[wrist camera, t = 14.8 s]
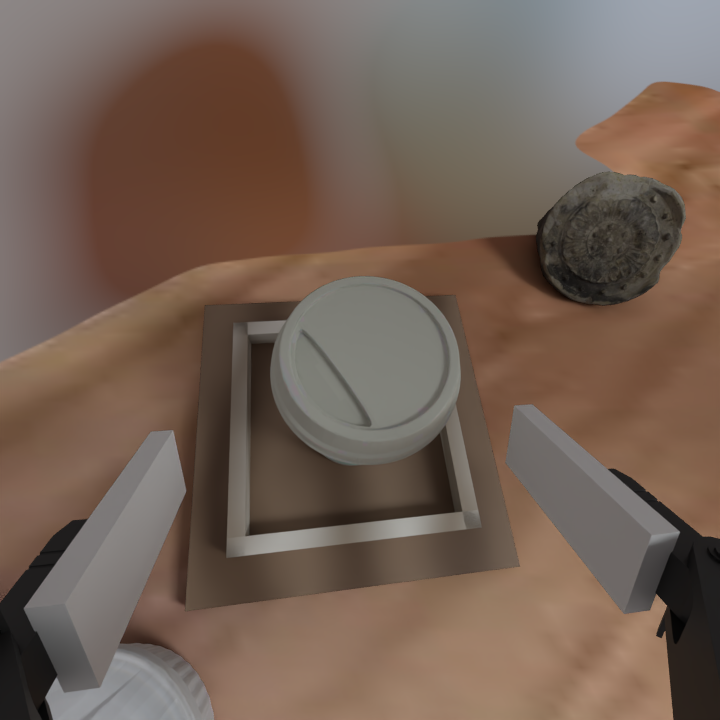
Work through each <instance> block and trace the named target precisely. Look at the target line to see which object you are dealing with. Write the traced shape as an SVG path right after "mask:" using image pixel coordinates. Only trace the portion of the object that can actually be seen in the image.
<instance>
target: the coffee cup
mask: <svg viewBox="0 0 720 720" xmlns="http://www.w3.org/2000/svg"><path fill="white" fill-rule="evenodd" d="M270 380H271V388H272V393H273V397H274V400H275V403H276V405H277V408H278V410H279V412H280V414H281V416H282V417H283V419H284V421H285V422H286V424H287V425H288V426H289V427H290V429H291V430H292V431H293V432H294V433H295V434H296V435H297V436H298V437H299V438H300V439H301V440H302V441H303V442H304V443H306V444H307V445H308V446H310V447H311V448H313V449H314V450H316V451H317V452H319V453H321V454H323V455H324V456H325V457H326V458H328V459H329V460H331V461H333V462H335V463H338V464H341V465H346V466H357V465H379V464H386V463H391V462H394V461H398V460H401V459H404V458H406V457H408V456H410V455H412V454H414V453H416V452H418V451H419V450H421V449H422V448H424V447H425V446H426V445H428V444H429V443H430V442H431V441H432V440H433V439H434V438H435V437H436V436H437V435H438V434H439V433H440V432H441V430H442V429H443V428H444V426H445V425H446V423H447V422H448V420H449V418H450V416H451V414H452V411H453V409H454V406H455V404H456V401H457V398H458V394H459V389H460V381H461V370H460V359H459V350H458V345H457V341H456V338H455V336H454V333H453V330H452V328H451V327H450V325H449V323H448V321H447V320H446V318H445V317H444V315H443V314H442V313H441V311H440V310H439V309H438V308H437V307H436V306H435V305H434V304H433V303H432V302H431V301H430V300H429V299H427V298H426V297H425V296H424V295H422V294H421V293H419V292H418V291H416V290H415V289H413V288H411V287H409V286H407V285H405V284H402V283H400V282H397V281H394V280H390V279H386V278H381V277H372V276H357V277H349V278H343V279H340V280H336V281H333V282H331V283H328V284H326V285H323V286H321V287H320V288H318V289H316V290H315V291H313V292H312V293H310V294H309V295H308V296H306V297H305V298H304V299H303V300H302V301H301V302H300V303H299V304H298V305H297V307H296V308H295V309H294V310H293V312H292V313H291V315H290V316H289V318H288V319H287V320H286V322H285V323H284V325H283V326H282V328H281V330H280V332H279V334H278V336H277V339H276V341H275V345H274V348H273V353H272V359H271V367H270Z"/></svg>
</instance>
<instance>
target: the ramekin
mask: <svg viewBox="0 0 720 720" xmlns="http://www.w3.org/2000/svg"><path fill="white" fill-rule="evenodd" d="M45 698H46V700H47V702H48V704H49V707H50V711H51V714H52V718H53V720H214V713H213V709H212V706H211V701H210V697H209V695H208V693H207V691H206V688H205V685H204V683H203V682H202V680H201V679H200V677H199V675H198V673H197V672H196V671H195V670H194V669H193V668H192V666H191V665H190V664H189V663H188V662H187V661H185V660H184V659H183V658H182V657H181V656H180V655H178V654H176V653H174V652H173V651H172V650H169V649H165V648H164V647H162V646H156V645H152V644H141V643H132V644H119V646H118V648H117V650H116V653H115V655H114V657H113V659H112V662H111V664H110V666H109V669H108V671H107V673H106V675H105V678H104V680H103V682H102V685H101V687H100V688H95V689H88V690H81V691H74V692H66V693H64V692H63V690H62V688H61V686H60V683H59V681H58V679H57V677H56V679H55V680H54V682H53V684H52V686H51V688H50V690H49V691H48V693H47V695H46V697H45Z"/></svg>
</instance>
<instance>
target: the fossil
mask: <svg viewBox="0 0 720 720" xmlns="http://www.w3.org/2000/svg"><path fill="white" fill-rule="evenodd" d="M685 219H686V215H685V205H684V202H683V200H682V198H681V196H680V195H679V194H678V193H677V192H676V191H675V190H674V189H673V188H671V187H669V186H667V185H664V184H662V183H661V182H659V181H657V180H655V179H653V178H647V177H638V176H636V175H623V174H620V173H616V172H602V173H599V174H596V175H594V176H592V177H589V178H587V179H585V180H584V181H582V182H580V183H579V184H577V185H576V186H574V187H573V188H572V189H571V190H570V191H568V192H567V193H566V194H565V195H564V196H563V197H561V199H560V200H559V201H558V202H557V203H556V204H555V205H554V207H552V208H551V209H550V210H549V211H548V212H547V213H546V215H545V216H544V217H543V218H542V219H541V220H540V221H539V222H538V225H537V226H538V232H537V235H536V242H537V248H538V253H539V256H540V263H541V270H542V273H543V276H544V277H545V278H546V280H547V281H548V282H549V283H550V284H551V285H552V286H553V287H554V288H555V289H556V290H558V291H559V292H560V293H562V294H563V295H565V296H566V297H568V298H569V299H572V300H574V301H577V302H582V303H586V304H595V305H613V304H618V303H622V302H625V301H629V300H631V299H633V298H636V297H638V296H640V295H642V294H644V293H645V292H647V291H648V290H649V289H651V288H652V287H653V286H654V285H656V284H657V283H658V280H659V274H660V271H661V270H662V268H663V267H664V266H665V265H666V264H667V263H668V262H669V261H670V259H671V258H672V256H673V255H674V253H675V252H676V250H677V249H678V248H679V246H680V244H681V240H682V234H681V228H682V226H683V223H684V221H685Z"/></svg>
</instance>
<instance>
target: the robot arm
mask: <svg viewBox="0 0 720 720" xmlns="http://www.w3.org/2000/svg"><path fill="white" fill-rule="evenodd" d="M505 463H506V464H507V465H508V466H509V468H510V469H511V470H512V472H513V473H514V474H515V475H516V477H517V478H518V479H519V481H520V482H521V483H522V484H523V486H524V487H525V488H526V489H527V491H528V492H529V493H530V495H531V496H532V497H533V498H534V500H535V501H536V502H537V504H538V505H539V506H540V507H541V509H542V510H543V511H544V512H545V514H546V515H547V516H548V518H549V519H550V520H551V521H552V523H553V524H554V525H555V527H556V528H557V529H558V530H559V532H560V533H561V534H562V535H563V537H564V538H565V539H566V541H567V542H568V543H569V544H570V546H571V547H572V548H573V550H574V551H575V552H576V553H577V555H578V556H579V557H580V558H581V560H582V561H583V562H584V564H585V565H586V566H587V567H588V569H589V570H590V571H591V572H592V574H593V575H594V576H595V578H596V579H597V580H598V581H599V583H600V584H601V585H602V587H603V588H604V589H605V590H606V592H607V593H608V594H609V595H610V597H611V598H612V599H613V601H614V602H615V603H616V604H617V606H618V607H619V608H620V610H621V611H622V612H623V613H624V614H626V613H634V612H641V611H648V610H650V608H651V606H652V603H653V601H654V598H655V596H656V594H657V595H658V596H659V597H660V598H661V599H662V600H663V601H664V603H665V604H666V605H667V608H666V611H665V613H664V615H663V618H662V620H661V623H660V625H659V628H658V631H657V635H656V636H658V637H660V638H662V636H663V633H664V632H665V631H666V642H667V653H668V664H669V675H670V686H671V697H672V708H673V719H674V720H720V539H718V538H713V537H702V536H701V535H700V534H699V533H698V532H696V531H695V530H694V529H693V528H691V527H690V526H689V525H688V524H687V523H685V522H684V521H683V520H682V519H681V518H679V517H678V516H677V515H676V514H675V513H673V512H672V511H671V510H670V509H668V508H667V507H666V506H665V505H664V504H662V503H661V502H660V501H659V502H658V501H657V499H656V498H655V497H654V496H653V495H651V494H650V493H649V492H646V491H645V489H644V488H643V487H642V486H641V485H639V484H638V483H637V482H636V481H635V480H633V479H632V478H631V477H629V476H627V475H625V474H623V473H621V472H619V471H617V470H616V469H607V468H605V467H604V466H603V465H602V464H601V463H600V462H598V461H597V460H596V459H595V458H594V457H593V456H592V455H590V454H589V453H588V452H587V451H586V450H585V449H583V448H582V447H581V446H580V445H579V444H578V443H576V442H575V441H574V440H573V439H572V438H571V437H570V436H568V435H567V434H566V433H565V432H564V431H563V430H561V429H560V428H559V427H558V426H557V425H556V424H554V423H553V422H552V421H551V420H550V419H549V418H547V417H546V416H545V415H544V414H543V413H542V412H541V411H539V410H538V409H537V408H536V407H535V406H534V405H532V404H530V405H516V406H514V411H513V417H512V424H511V430H510V437H509V443H508V450H507V456H506V462H505ZM185 493H186V487H185V482H184V477H183V473H182V468H181V464H180V459H179V455H178V450H177V446H176V441H175V436H174V432H173V430H167V431H153V432H150V434H149V435H148V436H147V438H146V439H145V441H144V442H143V443H142V445H141V446H140V448H139V449H138V450H137V452H136V453H135V455H134V456H133V457H132V459H131V460H130V461H129V463H128V464H127V466H126V467H125V468H124V470H123V471H122V473H121V474H120V475H119V477H118V478H117V480H116V481H115V482H114V484H113V485H112V487H111V488H110V489H109V491H108V492H107V493H106V495H105V496H104V498H103V499H102V500H101V502H100V503H99V505H98V506H97V507H96V509H95V510H94V512H93V513H92V514H91V516H90V517H89V518H88V519H84V520H73V521H71V522H70V523H69V524H68V525H66V526H65V527H64V528H62V529H61V530H60V531H59V532H57V533H56V534H55V535H54V536H53V537H52V538H51V539H50V541H49V542H48V543H47V544H46V546H45V547H44V548H43V549H42V551H41V552H40V556H37V557H36V558H35V560H34V561H33V562H32V563H31V565H30V566H29V569H28V570H26V571H25V572H24V573H23V575H22V576H21V577H20V579H19V580H18V581H17V582H16V584H15V585H14V586H13V587H12V589H11V590H10V591H9V592H8V594H7V595H6V596H5V598H4V599H3V600H2V601H1V603H0V720H53V718H52V714H51V711H50V707H49V704H48V702H47V700H46V698H45V697H46V695H47V693H48V691H49V690H50V688H51V686H52V684H53V682H54V680H55V679H56V677H57V679H58V681H59V683H60V686H61V688H62V690H63V692H64V693H66V692H74V691H81V690H88V689H95V688H100V687H101V685H102V682H103V680H104V678H105V675H106V673H107V671H108V669H109V666H110V664H111V662H112V659H113V657H114V655H115V653H116V650H117V648H118V646H119V644H120V641H121V639H122V637H123V634H124V632H125V630H126V628H127V625H128V623H129V621H130V618H131V616H132V614H133V612H134V609H135V607H136V605H137V603H138V600H139V598H140V596H141V593H142V591H143V589H144V587H145V584H146V582H147V580H148V578H149V575H150V573H151V571H152V568H153V566H154V564H155V562H156V559H157V557H158V555H159V552H160V550H161V548H162V546H163V543H164V541H165V539H166V537H167V534H168V532H169V530H170V527H171V525H172V523H173V521H174V518H175V516H176V514H177V511H178V509H179V507H180V505H181V502H182V500H183V498H184V496H185Z"/></svg>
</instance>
